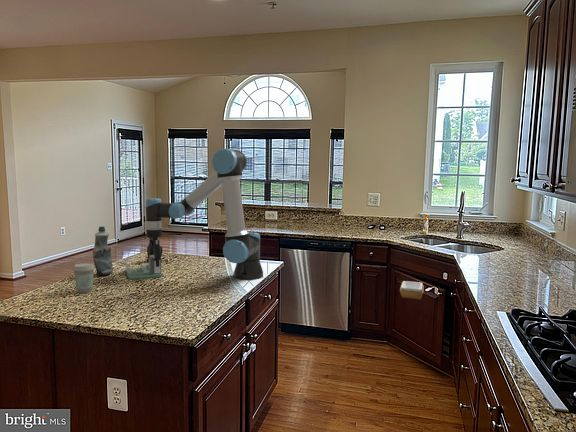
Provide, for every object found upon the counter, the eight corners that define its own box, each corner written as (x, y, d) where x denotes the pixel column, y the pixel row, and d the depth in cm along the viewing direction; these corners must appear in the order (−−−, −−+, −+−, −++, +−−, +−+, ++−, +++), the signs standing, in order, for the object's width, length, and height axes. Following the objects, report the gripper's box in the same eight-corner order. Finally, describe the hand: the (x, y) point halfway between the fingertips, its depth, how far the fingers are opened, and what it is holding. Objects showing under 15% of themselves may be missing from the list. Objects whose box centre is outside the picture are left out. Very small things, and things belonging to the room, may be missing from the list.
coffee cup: (72, 294, 181) (70, 267, 180) (76, 289, 189) (75, 263, 188) (93, 293, 183) (92, 266, 182) (97, 288, 192) (96, 262, 190)
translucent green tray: (162, 276, 214) (162, 266, 213) (129, 280, 206) (129, 269, 206) (155, 268, 231) (155, 258, 231) (124, 271, 224) (124, 261, 223)
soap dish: (401, 290, 195) (401, 280, 195) (423, 293, 192) (424, 282, 192) (399, 298, 184) (399, 287, 183) (422, 300, 181) (423, 289, 180)
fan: (157, 268, 226) (157, 263, 225) (145, 269, 223) (145, 264, 223) (155, 266, 231) (155, 261, 231) (144, 267, 228) (143, 261, 228)
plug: (160, 273, 216) (160, 258, 215) (150, 274, 213) (150, 259, 213) (159, 271, 219) (158, 256, 218) (148, 272, 217) (148, 257, 216)
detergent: (106, 271, 222) (105, 224, 220) (118, 272, 220) (117, 225, 218) (88, 277, 210) (87, 227, 207) (101, 278, 208) (99, 228, 205)
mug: (156, 264, 240) (156, 245, 238) (142, 263, 242) (142, 244, 241) (168, 260, 251) (167, 241, 250) (154, 259, 254) (154, 241, 252)
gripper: (166, 231, 205) (167, 274, 207) (156, 225, 227) (157, 264, 229) (150, 232, 201) (151, 276, 204) (142, 226, 223) (143, 265, 225)
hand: (154, 270), depth 216 cm, fingers open, 13 cm apart
